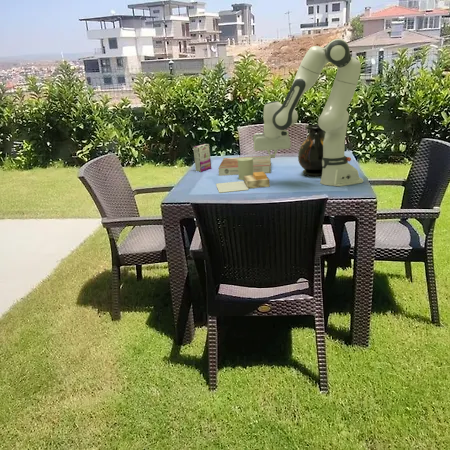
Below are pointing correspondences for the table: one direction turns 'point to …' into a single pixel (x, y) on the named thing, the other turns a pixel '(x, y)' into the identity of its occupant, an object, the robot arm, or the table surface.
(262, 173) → the orange tile
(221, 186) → the cream board
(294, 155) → the table surface
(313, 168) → the amphora vase
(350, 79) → the robot arm
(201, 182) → the table surface
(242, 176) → the can
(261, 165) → the pizza box
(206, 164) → the candy bar box
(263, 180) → the cylinder
